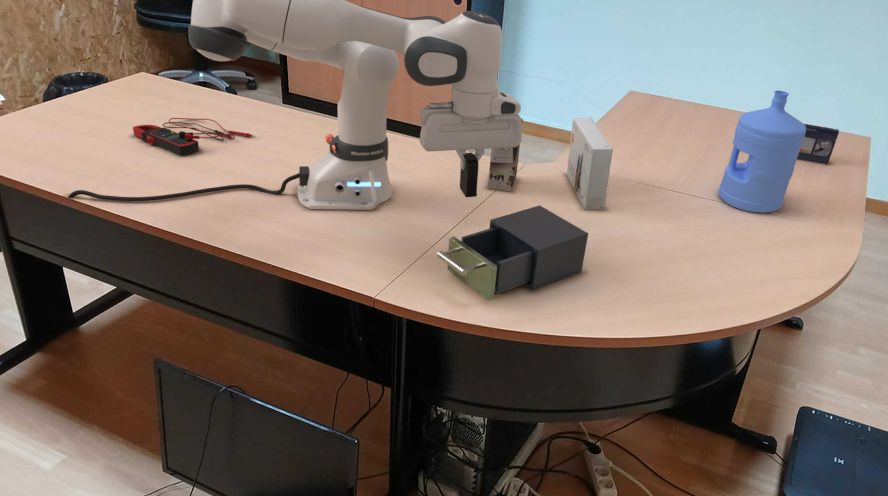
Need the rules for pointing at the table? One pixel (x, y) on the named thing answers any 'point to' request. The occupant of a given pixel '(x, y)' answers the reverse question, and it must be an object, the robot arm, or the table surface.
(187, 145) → the digital clamp meter
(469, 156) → the ink cartridge
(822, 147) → the vhs cassette tape
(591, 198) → the skincare box
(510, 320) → the table surface
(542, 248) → the cabinet
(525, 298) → the table surface
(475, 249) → the drawer
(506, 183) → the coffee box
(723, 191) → the water jug
